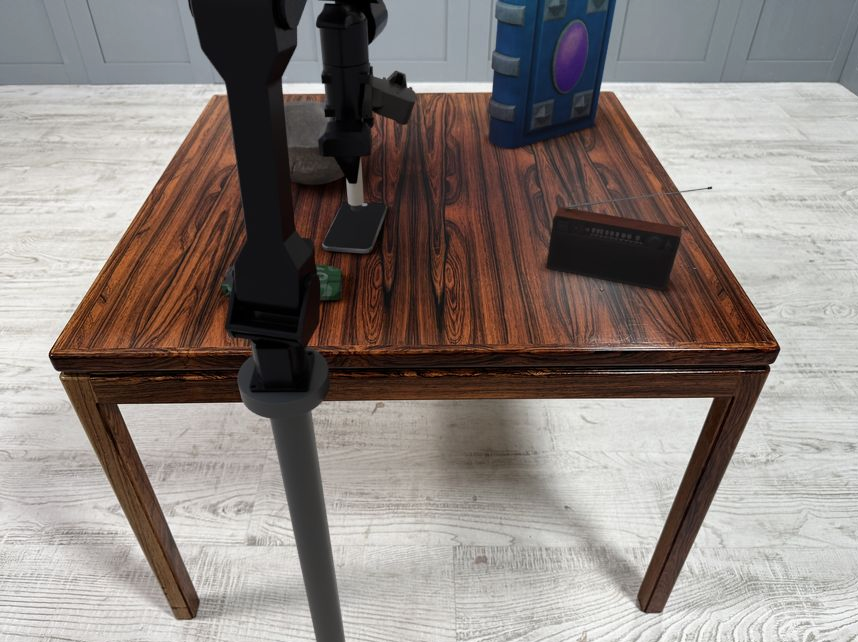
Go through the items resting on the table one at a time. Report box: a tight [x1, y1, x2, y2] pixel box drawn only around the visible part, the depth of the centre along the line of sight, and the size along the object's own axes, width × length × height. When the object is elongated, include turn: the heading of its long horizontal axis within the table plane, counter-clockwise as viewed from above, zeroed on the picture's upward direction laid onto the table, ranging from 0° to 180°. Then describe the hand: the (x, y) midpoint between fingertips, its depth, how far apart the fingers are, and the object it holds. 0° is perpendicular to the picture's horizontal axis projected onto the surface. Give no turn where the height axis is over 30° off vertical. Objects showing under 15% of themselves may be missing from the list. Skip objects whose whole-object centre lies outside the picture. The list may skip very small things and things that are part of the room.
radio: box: [545, 186, 713, 292], centre depth 87 cm, size 19×3×15 cm, turn 70°
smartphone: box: [321, 200, 388, 254], centre depth 102 cm, size 8×1×15 cm
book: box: [487, 0, 617, 150], centre depth 122 cm, size 24×9×30 cm, turn 123°
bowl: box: [284, 99, 345, 186], centre depth 114 cm, size 21×21×10 cm
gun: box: [220, 263, 344, 301], centre depth 90 cm, size 16×2×10 cm
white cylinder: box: [345, 157, 365, 211], centre depth 90 cm, size 2×2×9 cm
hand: (353, 179), depth 90 cm, fingers closed on white cylinder, 2 cm apart
